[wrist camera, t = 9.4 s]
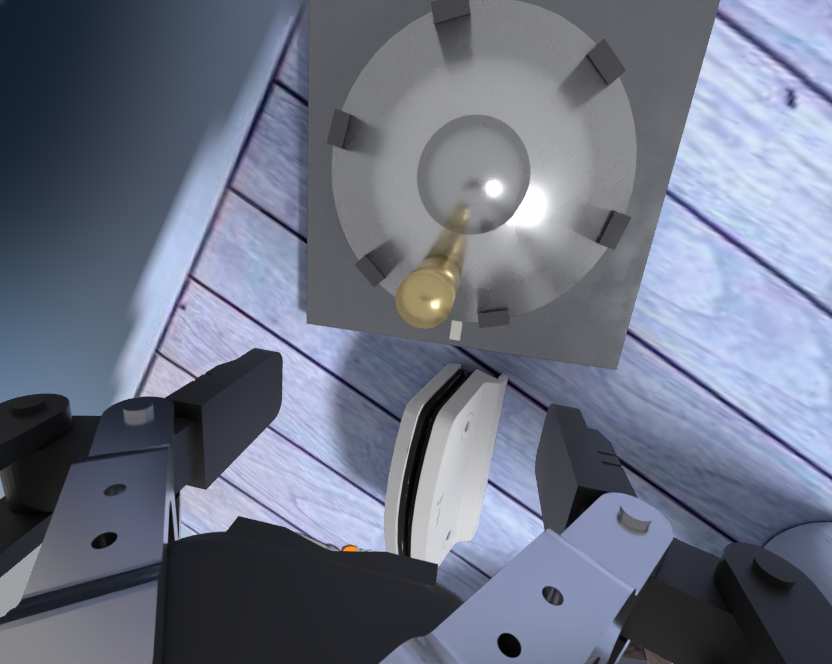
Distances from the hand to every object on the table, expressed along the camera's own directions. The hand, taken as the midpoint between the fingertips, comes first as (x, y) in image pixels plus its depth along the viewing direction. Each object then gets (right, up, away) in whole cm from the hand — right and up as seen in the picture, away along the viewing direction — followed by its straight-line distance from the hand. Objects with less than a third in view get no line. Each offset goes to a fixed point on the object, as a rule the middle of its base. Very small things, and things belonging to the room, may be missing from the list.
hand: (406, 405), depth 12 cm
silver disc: (+4, +12, +15) cm, 20 cm away
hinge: (+3, -8, +25) cm, 26 cm away
